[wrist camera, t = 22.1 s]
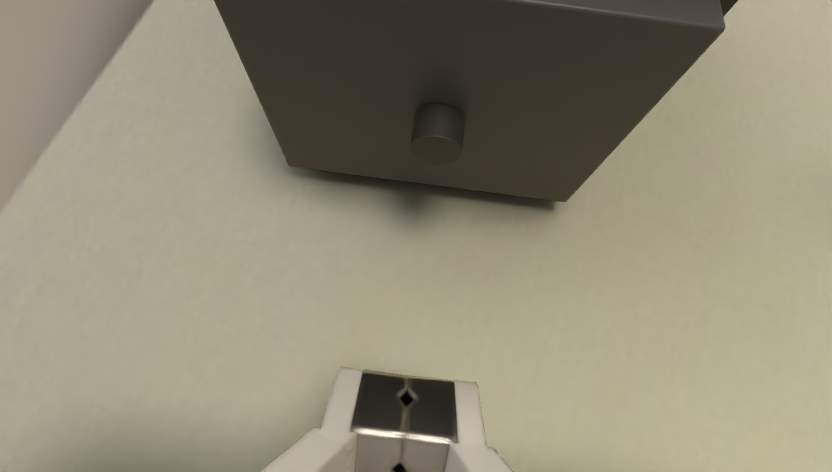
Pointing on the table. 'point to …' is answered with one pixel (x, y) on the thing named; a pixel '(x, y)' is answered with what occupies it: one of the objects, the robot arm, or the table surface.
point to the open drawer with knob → (465, 83)
